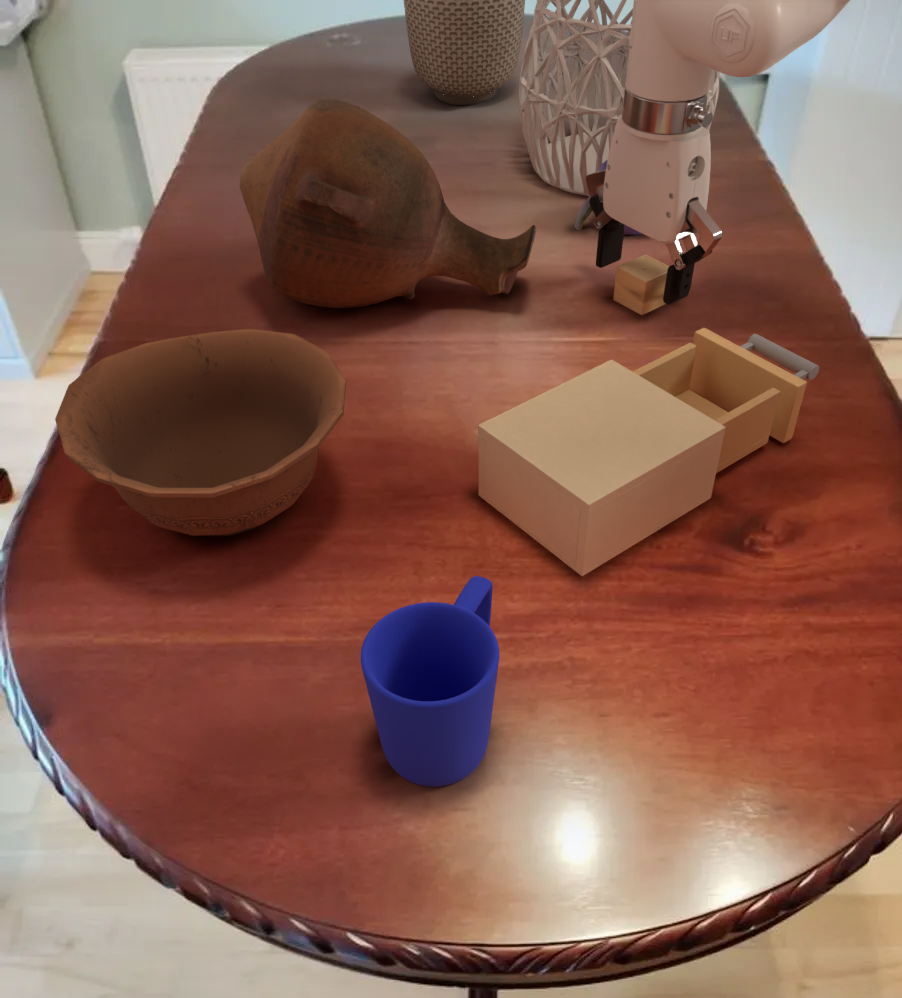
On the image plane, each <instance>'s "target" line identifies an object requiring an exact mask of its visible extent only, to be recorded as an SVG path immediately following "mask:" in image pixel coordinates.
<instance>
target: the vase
mask: <svg viewBox="0 0 902 998" xmlns="http://www.w3.org/2000/svg"><path fill="white" fill-rule="evenodd" d="M627 1H628V0H620V3H619V4H618V6H617V8H616V10H615V12H614V13H613V12H612V11H611V9H610V8H609V6H608V4H607V3H606V1H605V0H587V2H588V5H589V7H588V8H587V9H586V11H585V12H584V13H583V14H582V15H581V17H580V19H576V18H574V16H575V14H576V12H577V10H578V9H579V6H580V4H581V2H582V0H574V2H573V5H572V6H571V8H570V10H569V12H568V11H567V9H566V6H567V5H568V4H569V3H570V2H572V0H536V4H535V7H534V10H533V11H534V13H533V20H532V24H531V27H530V30H529V34H528V38H527V41H526V45H525V49H524V52H523V54H522V55H523V56H522V62H521V67H520V73H519V81H518V102H519V103H518V104H519V105H518V106H519V108H518V109H519V117H520V125H521V131H522V132H521V133H522V135H523V138H524V141H525V145H526V149H527V151H528V155H529V159H530V162H531V164H532V168H533V170H534V172H535V173H536V174H537V175H538V176H539V177H540V179H542V181H544V182H545V183H547V184H548V185H551V186H552V187H555V188H558V189H560V190H563V191H565V192H569V193H571V194H578V195H581V196H585V197H586V196H587V197H589V196H590V195H589V192H588V187H587V183H586V176H587V175H589V174H592V173H594V172H598V170H599V168H600V166H601V165H602V163H604V162H605V161H606V160H608V155H609V150H610V145H611V141H612V137H613V133H614V130H615V126H616V123H617V120H618V117H619V116H620V115H621V114H622V109H623V107H622V108H619V107H620V105H621V103H622V104H623V99H624V89H625V86H624V87H623V85H622V79H623V74H624V73H623V72H625V73H626V72H627V62H628V52H629V42H630V32H631V23H632V20H631V21H630V24H627V23H628V22H629V20H630V19H632V13H633V8H631V10H630V11H629V12H628V13H627V14H626V15H625V17H623V19H621V21H620V22H618V19H619V17H620V15H621V13H622V11H623V10H624V6H625V5H626V4H627V3H626V2H627ZM550 3H551V4H552V5H553V6H554V7H555V8H556V9H555V10H554V11H552V10H551V9H549V8H548V6H549V5H550ZM598 8H599V11H600V16H601V23H600V19H599V15H598V12H597V10H598ZM548 17H549V18H550V19H549V18H548ZM607 17H608V19H609V24H608V20H607ZM555 26H556V34H555V31H554V27H555ZM581 28H583V29H582V32H580V30H581ZM567 30H568V31H569V33H570V35H569V36H568V37H567V38H566V36H567V35H566V32H567ZM623 31H627V33H626V35H625V34H623ZM595 34H596V40H597V41H596V42H593V41H592V40H591V38H589V37H588V36H592V35H595ZM609 37H610V39H609ZM617 39H618V40H617ZM550 41H551V42H552V44H553V47H552V48H551V51H548V52H547V49H548V45H549V43H550ZM589 50H590V52H591V53H593V54H594V56H593V57H592V58H591V60H590V61H587V59H585V58H584V57H583V56H582V53H583V52H586V51H589ZM614 55H618V56H619V57H620V60H619V64H618V69H617V74H616V72H615V71H614V69H613V68H612V56H614ZM555 57H556V64H555V65H554V67H553V69H552V70H551V68H552V66H553V63H554V60H555ZM571 58H572V59H574V63H573V68H572V74H571V75H570V72H569V68H568V65H567V60H569V59H571ZM597 68H598V71H597V73H596V70H597ZM624 69H625V71H624ZM555 74H556V76H555ZM554 76H555V77H554ZM602 79H603V86H604V87H603V88H604V94H605V102H606V107H604V108H602V87H601V86H602V84H601V83H602ZM592 80H594V83H595V91H594V92H595V94H594V103H593V108H592V107H589V106H588V91H589V89H590V85H591V83H592ZM612 83H613V85H614V89H613V88H612V87H613V85H612ZM579 84H580V95H579V98H578V100H577V96H578V95H577V94H578V85H579ZM550 87H552V89H553V91H554V99H550V98H549V92H550V89H551V88H550ZM563 91H564V92H563ZM563 93H564V97H563ZM719 95H720V72H718V71H716V70H714V69H712V74H711V80H710V86H709V94H708V100H707V106H706V109H707V111H710V112H712V114H713V118H712V121H711V123H710V125H709V126H708V127H704V128H706V129H707V130H709V131H710V130H711V127H712V123H713V119H714V116H715V112H716V108H717V103H718V99H719ZM543 106H544V108H543ZM551 106H552V107H553V108H554V114H555V115H554V116H553V113H552V110H551ZM543 109H544V113H543ZM589 115H593V125H592V127H591V128H590V124H589ZM580 116H581V117H582V120H581V118H580ZM600 117H603V118H606V123H605V124H604V125H603V126H601V127H599V128H598V124H599V120H600ZM566 118H568V123H569V129H570V130H569V131H570V135H568V136H566V133H565V121H564V120H565V119H566Z"/></svg>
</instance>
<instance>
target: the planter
mask: <svg viewBox="0 0 902 998" xmlns="http://www.w3.org/2000/svg"><path fill="white" fill-rule="evenodd" d="M403 7H404V18H405V24H406V25H405V26H406V33H407V39H408V40H407V41H408V46H409V52H410V57H411V62H412V65H413V69H414V71H415V73H416V76H417V78H419V79H420V81H421V82H422V83H423V84H424V85H425V86H427V87H428V88H429V89H431V90H432V91H433V92H434V94H435V96H436V97H437V99H438V100H439V101H440V102H443V103H445V104H449V105H453V106H454V105H455V106H474V105H477V104H481V103H483V102H487V101H490V100H492V99H493V98H494V96H495V95H496V93H497V91H498V89H500V88H501V87H502V86H504V85H505V84H506V83H507V82H508V81H509V80H510V79H511V77H512V76H513V75H514V73H515V71H516V68H517V65H518V61H519V57H520V51H521V50H520V49H521V44H522V37H523V29H524V19H525V8H526V0H403ZM494 90H495V91H494ZM490 92H491V93H490ZM443 94H444V95H443ZM473 96H474V97H473Z"/></svg>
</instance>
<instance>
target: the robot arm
mask: <svg viewBox="0 0 902 998" xmlns="http://www.w3.org/2000/svg"><path fill="white" fill-rule="evenodd" d="M849 2H851V0H633V4H632V9H633V13H632V17H631V21H632V23H631V22H630V24H631V32H630V42H629V50H628V62H627V72H625V84H624V87H625V89H624V99H623V103H622V108H623V109H622V108H621V109H622V114H619V115H618V116H619V117H618V120H617V123H616V125H615V126H614V133H613V137H612V141H611V145H610V150H609V155H608V160H607V166H606V169H605V170H601V171H598V172H594V173H592V174H589V175H587V176H586V183H587V187H588V192H589V195H590V196H591V198H590V200H589V202H590V206H591V208H592V213H593V215H594V217H595V218H594V220H593V221H594V226H595V228H596V229H597V230H598V234H597V235H598V236H597V247H596V255H595V266H596V267H597V268H599V269H602V268H605V267H607V266H609V265H611V264H614V263H617V262H619V261H620V260H621V258H622V253H623V245H624V225H626V226H628V227H630V228H632V229H634V230H636V231H638V232H640V233H642V234H641V235H645V236H647V237H649V238H651V239H652V240H655V241H656V242H659V243H661V244H663V245H665V246H666V248H667V251H668V253H669V257H670V259H671V262H672V264H671V265H668V266H669V267H668V270H667V276H666V283H665V289H664V296H663V301H664V303H666V304H665V305H668V306H670V305H672V304H674V303H676V302H678V301H681V300H682V299H685V298H687V297H688V296H689V294H690V291H691V288H692V281H693V277H694V270H695V264H696V263H699V262H700V261H702V260H703V259H704V258H706V257H708V256H709V255H711V254H712V253H713V249H715V248H716V246H717V245H718V244H719V242H720V241H721V240H722V238H723V231H722V229H721V228H720V227H719V226H718V224H717V223H716V222H715V220H714V219H713V218H712V217H711V216H710V214H709V213H708V211H707V210H708V209H707V208H708V200H709V192H710V182H711V180H710V179H711V164H712V163H711V161H712V160H711V158H712V154H711V153H712V152H711V151H712V149H711V147H712V146H711V134H710V130H707V129H706V128H704V127H708V126H709V125H710V123H711V121H712V122H713V120H712V118H713V119H714V116H713V114H712V112H710V111H707V109H706V106H707V100H708V94H709V86H710V80H711V74H712V69H714V70H716V71H718V72H719V73H721V74H723V75H726V76H730V77H735V78H748V77H749V78H750V77H754V76H757V75H760V74H761V73H764V72H766V71H767V70H769V69H771V68H772V67H773V66H775V65H776V64H778V63H779V62H780V61H782V60H783V59H785V58H786V57H788V56H789V55H790V54H791V53H793V52H795V51H796V50H798V49H799V48H800V47H802V46H803V45H805V44H807V43H808V42H809V41H811V40H813V39H814V38H815V37H817V36H818V35H819V34H820V33H821V32H822V31H823V30H825V28H827V26H828V25H829V24H830V23H831V22H833V20H834V19H835V18H836V17H837V16H838V15H839V14H840V12H842V11H843V9H845V7H846V6H847V5H848V4H849ZM619 222H620V223H619ZM695 234H698V235H699V240H697V237H696V236H695ZM681 240H682V243H683V246H684V249H685V250H686V251H685V252H684V251H683V249H682V246H681V243H680V241H681Z"/></svg>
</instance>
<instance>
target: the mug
mask: <svg viewBox="0 0 902 998" xmlns="http://www.w3.org/2000/svg"><path fill="white" fill-rule="evenodd" d="M493 591H494V589H493V583H492V581H491V579H488V578H486V577H484V576H483V577H482V576H478V575H474V576H472V577H471V578H470V579H469V580H468V581H467V582H466V584H465V585H464V586H463V588H462V590H461V591H460V593H459V594H458V596H457V598H456V600H455V601H454V604H452V603H446V602H436V601H428V602H418V603H412V604H408V605H405V606H403V607H400V608H397V609H395V610H393V611H391V612H388V614H386V615H385V616H383V617H381V618H380V620H378V621H377V622H376V623H375V624H374V625H373V626H372V627H371V628H370V629H369V631H368V632H367V634H366V636H365V638H364V640H363V642H362V645H361V650H360V665H361V670H362V674H363V677H364V682H365V685H366V689H367V690H366V691H367V694H368V697H369V701H370V706H371V710H372V713H373V717H374V721H375V725H376V728H377V733H378V737H379V741H380V745H381V748H382V751H383V754H384V756H385V759H386V760H387V762H388V763H389V765H390V767H391V768H392V769H393V770H394V771H395V772H396V773H397V774H398V775H399V776H400V777H402V778H403V779H405V780H407V781H408V782H411V783H413V784H415V785H419V786H422V787H430V788H431V787H432V788H438V787H446V786H450V785H453V784H455V783H458V782H461V781H462V780H464V779H466V778H467V777H469V776H470V775H471V774H472V773H473V772H474V771H476V769H477V768H478V767H479V765H480V764H481V763H482V761H483V759H484V757H485V754H486V752H487V750H488V745H489V739H490V731H491V725H492V717H493V709H494V703H495V702H494V701H495V695H496V687H497V678H498V673H499V672H498V671H499V664H500V654H501V653H500V645H499V642H498V639H497V637H496V634H495V633H494V631H493V629H492V628H491V618H492V605H493V604H492V603H493Z"/></svg>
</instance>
